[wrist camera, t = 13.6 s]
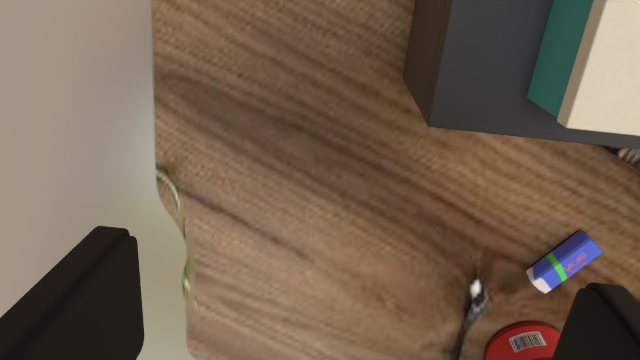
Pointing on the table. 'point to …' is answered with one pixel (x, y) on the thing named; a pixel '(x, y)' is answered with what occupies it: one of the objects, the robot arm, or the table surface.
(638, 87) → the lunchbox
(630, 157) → the hardback book
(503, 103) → the shelf rack
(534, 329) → the canned food
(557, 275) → the eraser
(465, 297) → the table surface
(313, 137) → the table surface
